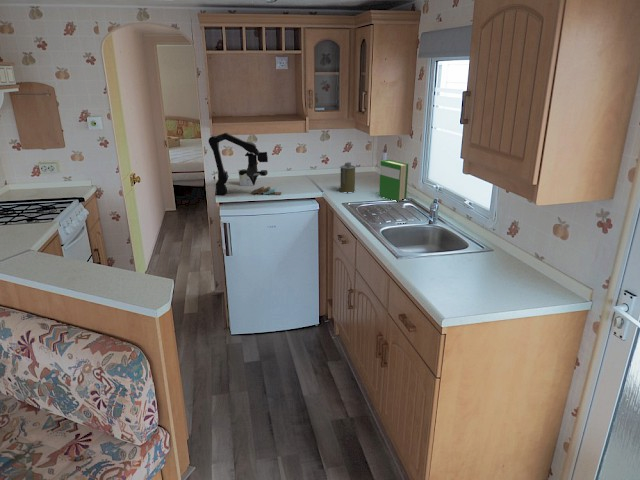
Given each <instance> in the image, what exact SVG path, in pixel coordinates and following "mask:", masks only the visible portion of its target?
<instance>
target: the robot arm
mask: <svg viewBox="0 0 640 480" xmlns="http://www.w3.org/2000/svg"><path fill="white" fill-rule="evenodd" d="M223 141H227V142H231V143H232V144H235V145H236V146H238V147H241V148H242V149H244V150H245V151H247V152H246V153H245V155H244V156H245V157H247V160H248V161H247V168H246V169H242V168H241V169H240V170H239V171H238V176H239V175H244V174H247V176H248V177H250V179H251V181H252V183H253V185H254V186H255V185H256V184H255V182H256V183H257V179H258V178H259V176H261V177H263V176H264V177H265V176H267V175H268V170H267V169H262V170H259V169H258V162H259V163H269V156H268V152H267V151H262V152H261V151H259V150H258V148H257V145H256V144H255V143H253V142H252V141H251V142H249V141H247V140H242V139H241V138H238V137H236V136H234V135H232V134H230V133H228V132H224V133H221V134H218V135H211V136H210V137H209V138H208V144H209V147H210V148H211V150H212V152H213V156H214V157H213V158H214V160H215V161H214V162H215V165H216V168H217V169H216V170H217V177H218V178H217V181H216V182H215V184H214V185H215V196H226V195H227V194H228V187H227V185H226V183H228V180H229V177H230V175H228V171H225V168H224V164H223V160H222V156H221V152H220V142H223ZM225 194H226V195H225Z"/></svg>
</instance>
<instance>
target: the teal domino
mask: <svg viewBox="0 0 640 480" xmlns="http://www.w3.org/2000/svg"><path fill="white" fill-rule="evenodd" d="M273 192H277V188H276V187H275V188H271V189H270V190H269V191H266V192H264V193H263V195H269V193H273Z"/></svg>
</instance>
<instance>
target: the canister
mask: <svg viewBox="0 0 640 480" xmlns="http://www.w3.org/2000/svg"><path fill="white" fill-rule="evenodd" d="M339 168H340V185H339V187H340V189H339V192H340V191H341V192H340V193H342V192H353V193H355V192H356V190H355V188H356V166H355V165H352V162H351V161H350V162H349V161H348V162H345V163H344V165H340V166H339ZM354 191H355V192H354Z"/></svg>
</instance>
